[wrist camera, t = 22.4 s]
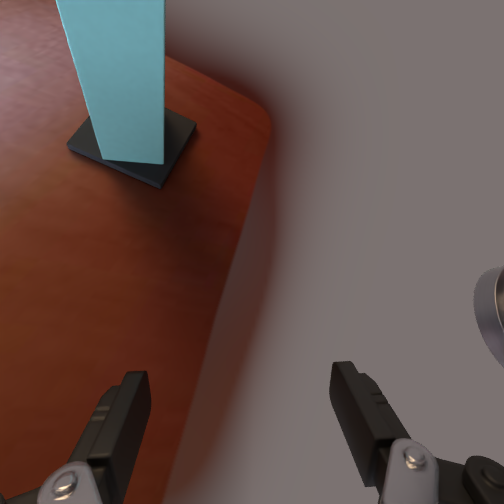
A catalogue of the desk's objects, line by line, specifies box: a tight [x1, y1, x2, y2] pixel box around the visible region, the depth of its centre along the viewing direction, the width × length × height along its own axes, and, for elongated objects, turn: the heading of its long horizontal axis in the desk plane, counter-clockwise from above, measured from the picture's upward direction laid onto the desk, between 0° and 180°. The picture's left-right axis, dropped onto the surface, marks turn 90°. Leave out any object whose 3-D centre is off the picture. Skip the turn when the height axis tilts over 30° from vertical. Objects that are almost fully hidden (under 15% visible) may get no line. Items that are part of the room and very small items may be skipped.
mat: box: [67, 107, 197, 189], centre depth 22 cm, size 7×7×1 cm
